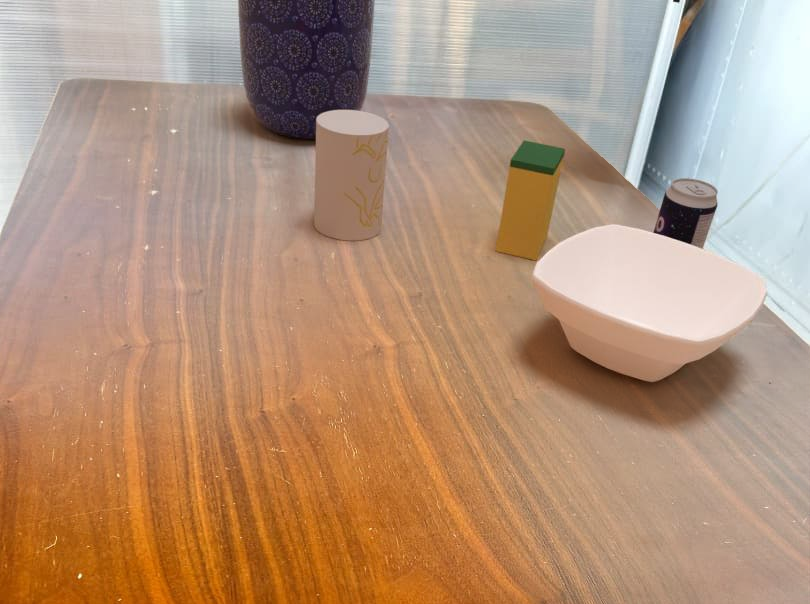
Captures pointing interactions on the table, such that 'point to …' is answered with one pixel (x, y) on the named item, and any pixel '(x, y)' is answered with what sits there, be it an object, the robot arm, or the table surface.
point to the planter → (304, 59)
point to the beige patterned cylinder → (350, 174)
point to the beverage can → (687, 211)
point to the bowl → (644, 299)
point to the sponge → (529, 199)
